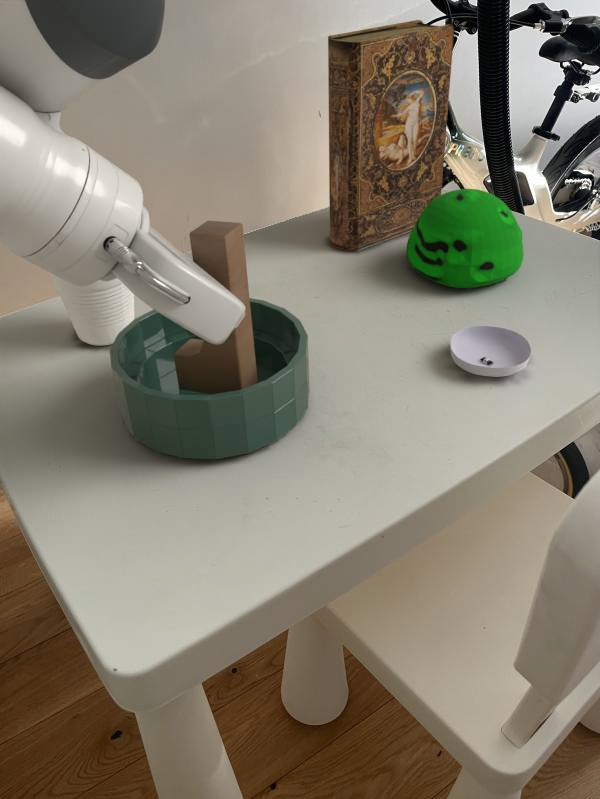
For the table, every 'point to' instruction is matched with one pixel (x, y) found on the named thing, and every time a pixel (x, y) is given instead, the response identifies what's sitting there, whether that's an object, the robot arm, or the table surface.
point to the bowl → (210, 413)
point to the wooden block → (235, 358)
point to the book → (386, 128)
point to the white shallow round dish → (490, 351)
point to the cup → (97, 309)
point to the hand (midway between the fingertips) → (220, 304)
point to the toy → (466, 240)
